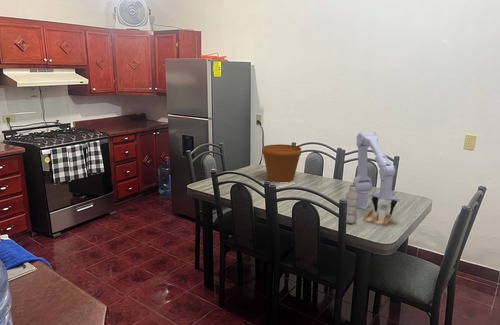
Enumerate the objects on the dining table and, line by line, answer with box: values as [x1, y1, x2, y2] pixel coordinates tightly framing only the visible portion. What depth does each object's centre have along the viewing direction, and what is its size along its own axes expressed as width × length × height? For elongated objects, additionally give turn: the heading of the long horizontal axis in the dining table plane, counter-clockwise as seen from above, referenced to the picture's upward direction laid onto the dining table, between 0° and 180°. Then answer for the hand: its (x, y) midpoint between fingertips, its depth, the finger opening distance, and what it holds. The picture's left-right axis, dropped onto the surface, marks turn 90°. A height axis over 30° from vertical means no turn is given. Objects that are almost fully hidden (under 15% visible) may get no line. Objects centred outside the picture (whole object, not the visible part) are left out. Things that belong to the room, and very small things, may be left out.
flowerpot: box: [261, 143, 302, 183], centre depth 264 cm, size 28×28×24 cm
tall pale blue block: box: [378, 203, 390, 222], centre depth 191 cm, size 3×7×7 cm, turn 146°
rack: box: [362, 208, 393, 227], centre depth 193 cm, size 12×13×3 cm
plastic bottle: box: [345, 184, 359, 224], centre depth 188 cm, size 6×7×20 cm
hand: (383, 212), depth 191 cm, fingers open, 7 cm apart
